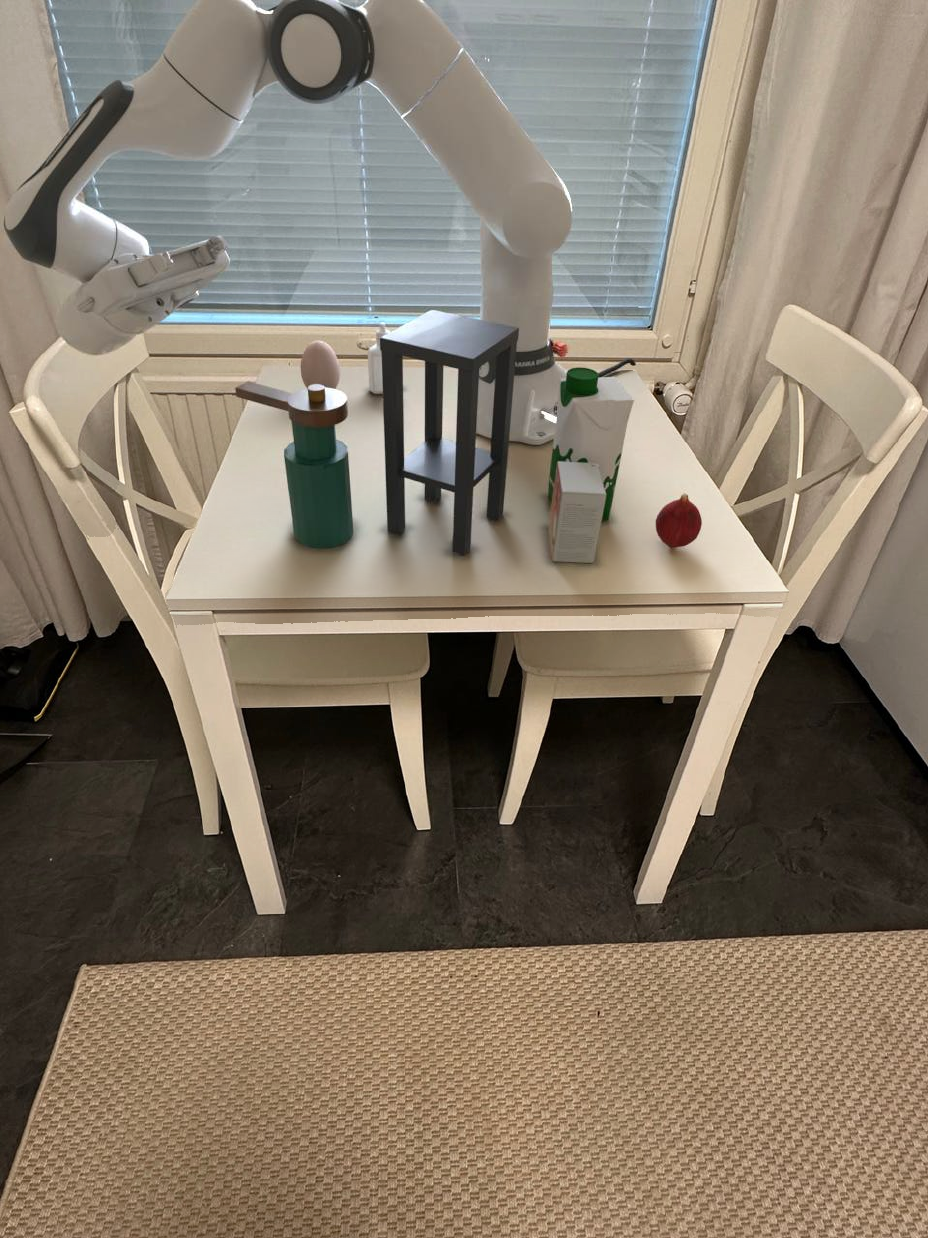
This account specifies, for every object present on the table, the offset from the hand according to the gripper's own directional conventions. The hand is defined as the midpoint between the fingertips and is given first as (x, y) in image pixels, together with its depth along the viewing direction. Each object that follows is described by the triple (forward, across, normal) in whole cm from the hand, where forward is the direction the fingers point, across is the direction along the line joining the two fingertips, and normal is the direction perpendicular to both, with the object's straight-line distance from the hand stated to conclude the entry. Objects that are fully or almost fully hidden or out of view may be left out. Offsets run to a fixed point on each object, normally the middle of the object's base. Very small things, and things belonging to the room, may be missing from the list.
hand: (194, 250), depth 92 cm
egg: (-22, +31, +24) cm, 45 cm away
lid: (+7, -5, +21) cm, 22 cm away
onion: (+38, +16, +58) cm, 71 cm away
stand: (+12, +6, +43) cm, 45 cm away
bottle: (+1, -5, +37) cm, 37 cm away
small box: (+27, +9, +52) cm, 59 cm away
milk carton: (+25, +19, +51) cm, 60 cm away
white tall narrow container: (-15, +39, +28) cm, 50 cm away
